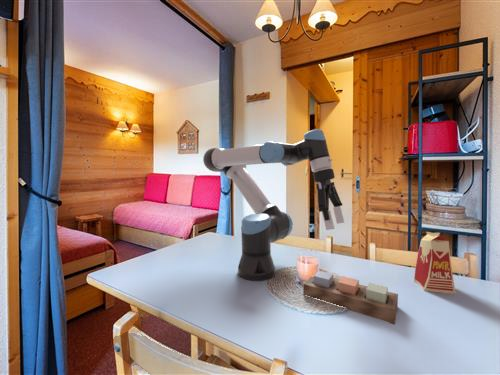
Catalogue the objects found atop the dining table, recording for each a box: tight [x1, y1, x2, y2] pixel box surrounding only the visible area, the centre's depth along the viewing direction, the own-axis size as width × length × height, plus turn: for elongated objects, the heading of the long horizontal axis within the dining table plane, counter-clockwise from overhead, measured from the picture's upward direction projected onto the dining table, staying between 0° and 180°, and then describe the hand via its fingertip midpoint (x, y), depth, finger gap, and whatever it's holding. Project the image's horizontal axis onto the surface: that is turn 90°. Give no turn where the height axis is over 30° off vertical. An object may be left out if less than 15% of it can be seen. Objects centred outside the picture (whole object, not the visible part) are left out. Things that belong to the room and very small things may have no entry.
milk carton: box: [413, 231, 457, 295], centre depth 84 cm, size 9×9×20 cm
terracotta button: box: [338, 275, 360, 296], centre depth 75 cm, size 5×5×4 cm
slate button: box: [313, 270, 334, 288], centre depth 80 cm, size 5×5×4 cm
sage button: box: [366, 282, 389, 304], centre depth 71 cm, size 5×5×4 cm
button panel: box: [302, 276, 399, 325], centre depth 76 cm, size 26×10×4 cm, turn 54°
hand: (335, 226), depth 88 cm, fingers open, 13 cm apart
